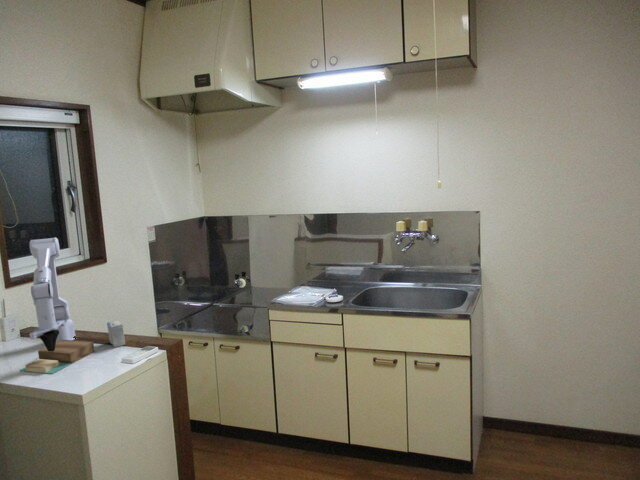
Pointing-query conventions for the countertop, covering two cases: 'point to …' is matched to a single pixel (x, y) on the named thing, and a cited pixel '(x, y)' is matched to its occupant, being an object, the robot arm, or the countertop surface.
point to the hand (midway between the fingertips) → (51, 350)
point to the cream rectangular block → (42, 365)
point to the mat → (61, 366)
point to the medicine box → (116, 333)
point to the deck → (67, 351)
